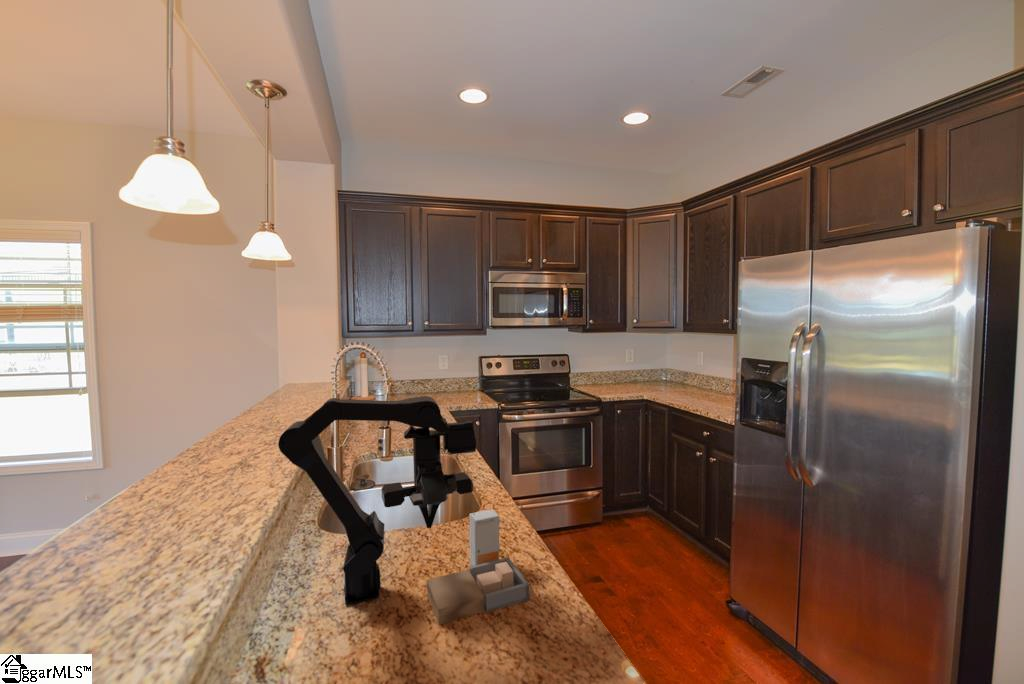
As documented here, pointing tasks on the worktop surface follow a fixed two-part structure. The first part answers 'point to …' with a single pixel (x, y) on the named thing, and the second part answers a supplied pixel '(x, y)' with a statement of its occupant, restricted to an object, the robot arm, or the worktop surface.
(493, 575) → the tile
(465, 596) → the board
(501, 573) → the tile
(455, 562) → the worktop surface
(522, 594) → the tray
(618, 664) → the worktop surface
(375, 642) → the worktop surface
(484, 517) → the skincare box
